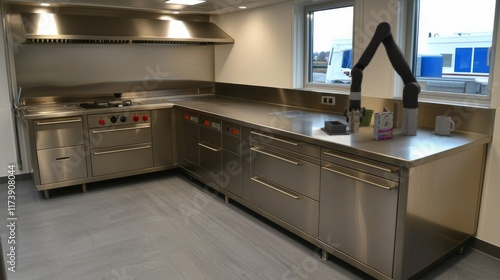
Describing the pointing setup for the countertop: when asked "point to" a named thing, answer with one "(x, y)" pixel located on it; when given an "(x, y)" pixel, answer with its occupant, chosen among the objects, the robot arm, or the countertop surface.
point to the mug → (443, 125)
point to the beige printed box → (354, 122)
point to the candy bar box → (383, 125)
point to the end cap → (335, 128)
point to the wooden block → (394, 114)
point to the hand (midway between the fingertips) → (354, 122)
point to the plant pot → (366, 117)
